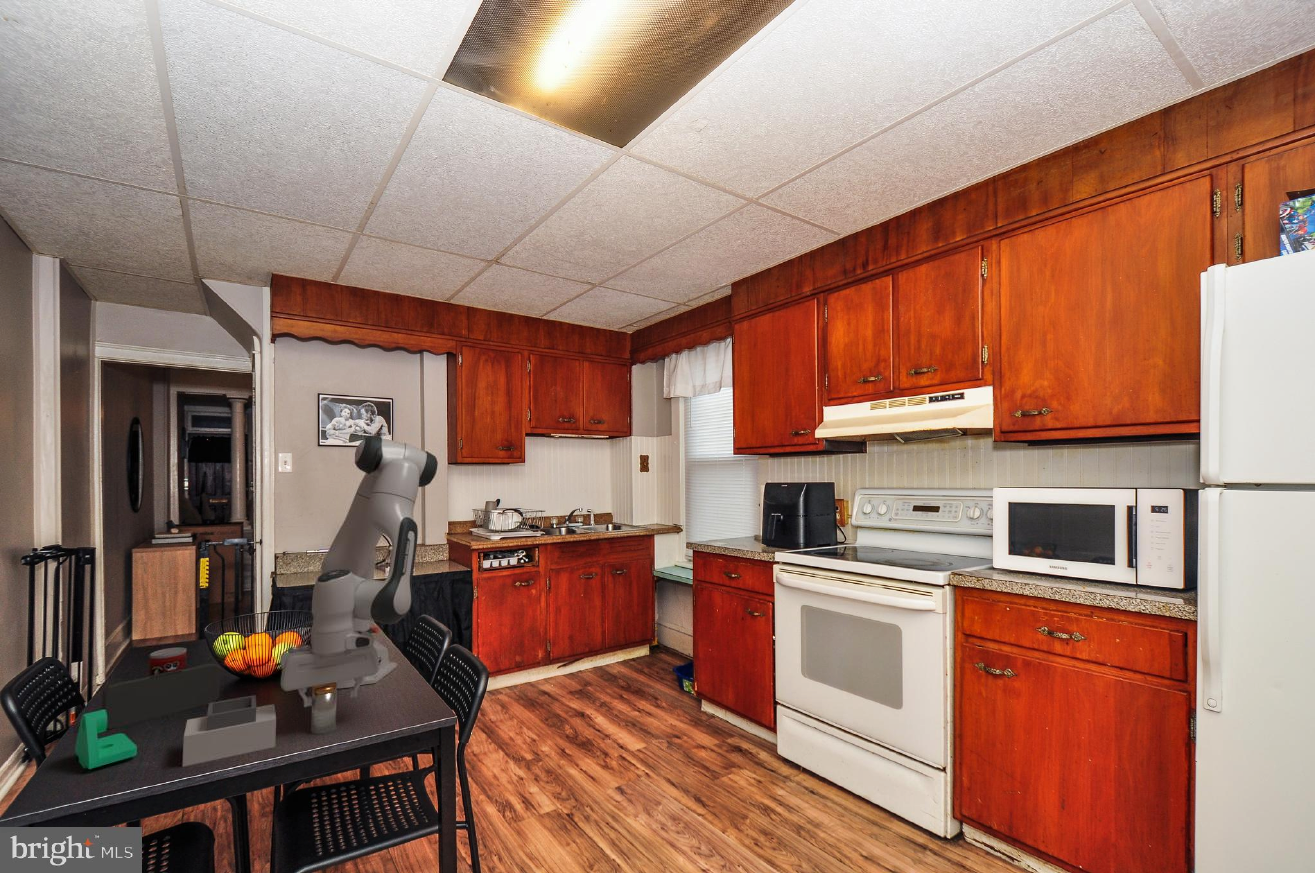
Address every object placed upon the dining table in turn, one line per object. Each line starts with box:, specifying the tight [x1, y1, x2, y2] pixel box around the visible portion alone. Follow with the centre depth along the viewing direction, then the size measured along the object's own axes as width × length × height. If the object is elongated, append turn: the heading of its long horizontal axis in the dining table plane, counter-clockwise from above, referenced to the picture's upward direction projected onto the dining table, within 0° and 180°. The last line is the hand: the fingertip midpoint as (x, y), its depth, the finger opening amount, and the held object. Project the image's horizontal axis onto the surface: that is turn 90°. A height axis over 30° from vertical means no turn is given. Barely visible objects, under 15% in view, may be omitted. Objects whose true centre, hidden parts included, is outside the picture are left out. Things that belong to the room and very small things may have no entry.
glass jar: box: [310, 682, 338, 735], centre depth 143 cm, size 5×5×10 cm
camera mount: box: [74, 709, 138, 770], centre depth 129 cm, size 12×8×10 cm, turn 53°
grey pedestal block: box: [182, 694, 277, 768], centre depth 134 cm, size 16×10×9 cm, turn 124°
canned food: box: [148, 647, 187, 676], centre depth 166 cm, size 8×8×11 cm
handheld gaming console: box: [101, 663, 221, 730], centre depth 152 cm, size 23×3×10 cm, turn 143°
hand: (330, 701), depth 144 cm, fingers open, 8 cm apart
